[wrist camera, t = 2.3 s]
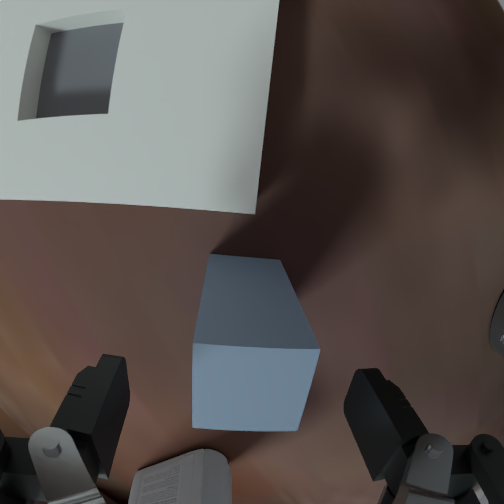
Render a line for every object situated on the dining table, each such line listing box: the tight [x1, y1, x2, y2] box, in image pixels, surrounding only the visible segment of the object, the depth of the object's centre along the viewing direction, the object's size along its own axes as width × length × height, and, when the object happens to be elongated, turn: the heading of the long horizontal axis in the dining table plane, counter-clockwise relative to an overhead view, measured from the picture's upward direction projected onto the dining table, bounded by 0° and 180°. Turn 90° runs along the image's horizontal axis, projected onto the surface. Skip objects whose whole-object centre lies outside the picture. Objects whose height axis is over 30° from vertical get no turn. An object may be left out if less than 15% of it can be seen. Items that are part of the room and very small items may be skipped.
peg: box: [192, 254, 320, 431], centre depth 14 cm, size 4×4×9 cm
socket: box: [0, 0, 279, 214], centre depth 13 cm, size 20×14×3 cm
